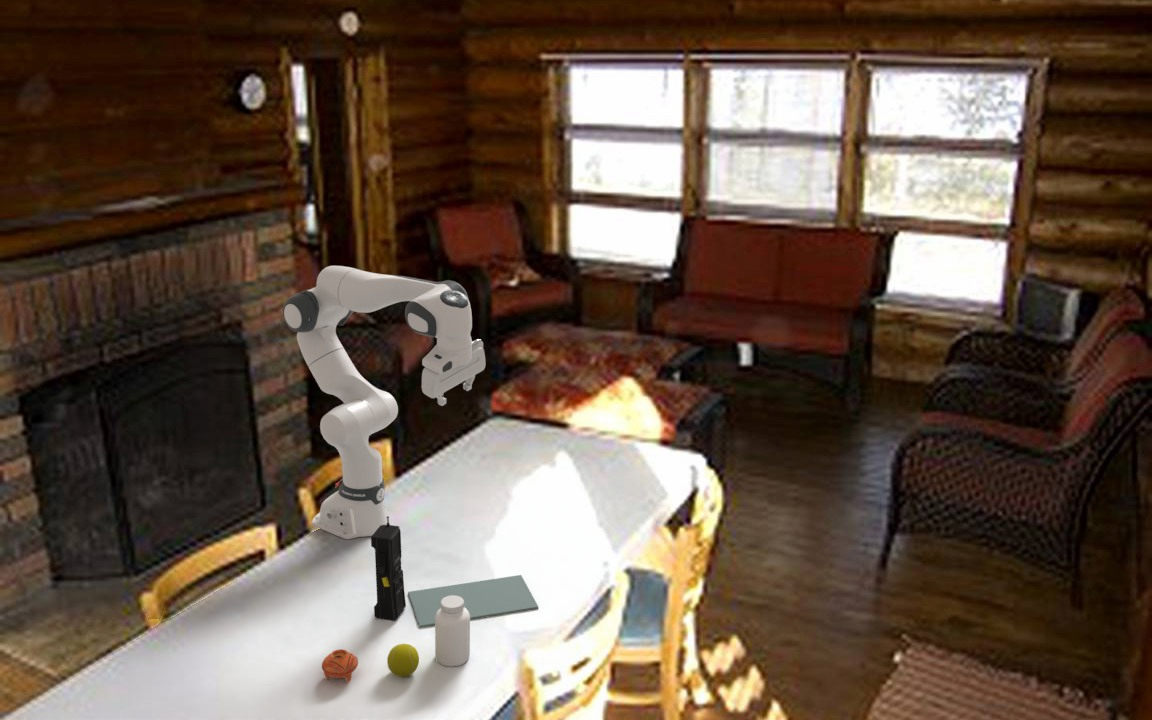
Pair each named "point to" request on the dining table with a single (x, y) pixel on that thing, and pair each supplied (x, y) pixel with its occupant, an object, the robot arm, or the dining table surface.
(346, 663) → the pot
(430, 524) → the dining table surface
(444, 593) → the mat
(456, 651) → the pill bottle
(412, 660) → the tennis ball
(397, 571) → the portable radio
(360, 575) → the dining table surface
